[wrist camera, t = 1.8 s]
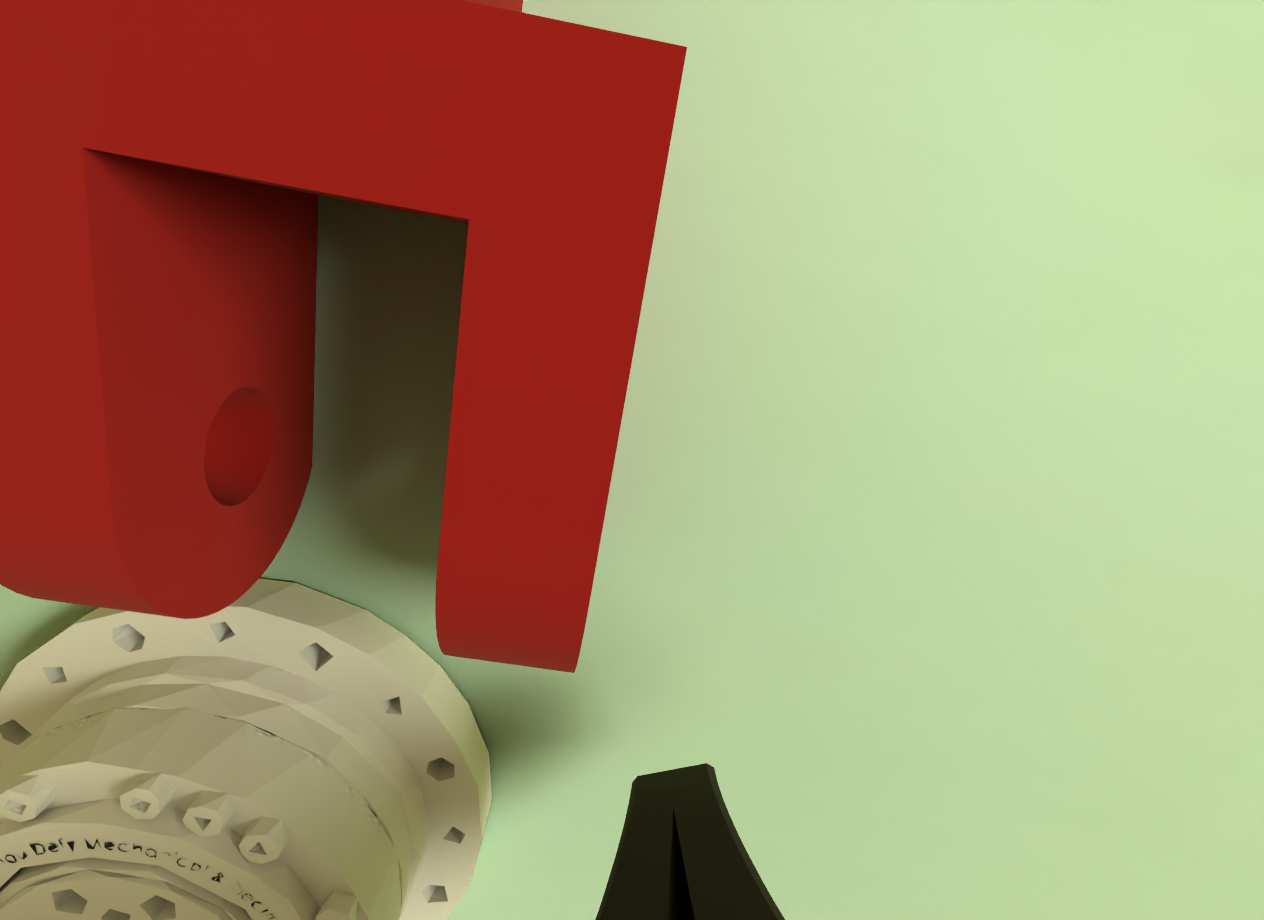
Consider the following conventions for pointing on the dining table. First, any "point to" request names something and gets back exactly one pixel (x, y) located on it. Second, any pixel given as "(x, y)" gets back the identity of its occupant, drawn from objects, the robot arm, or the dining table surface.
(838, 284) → the dining table surface
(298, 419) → the mechanical linkage
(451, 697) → the mechanical component
